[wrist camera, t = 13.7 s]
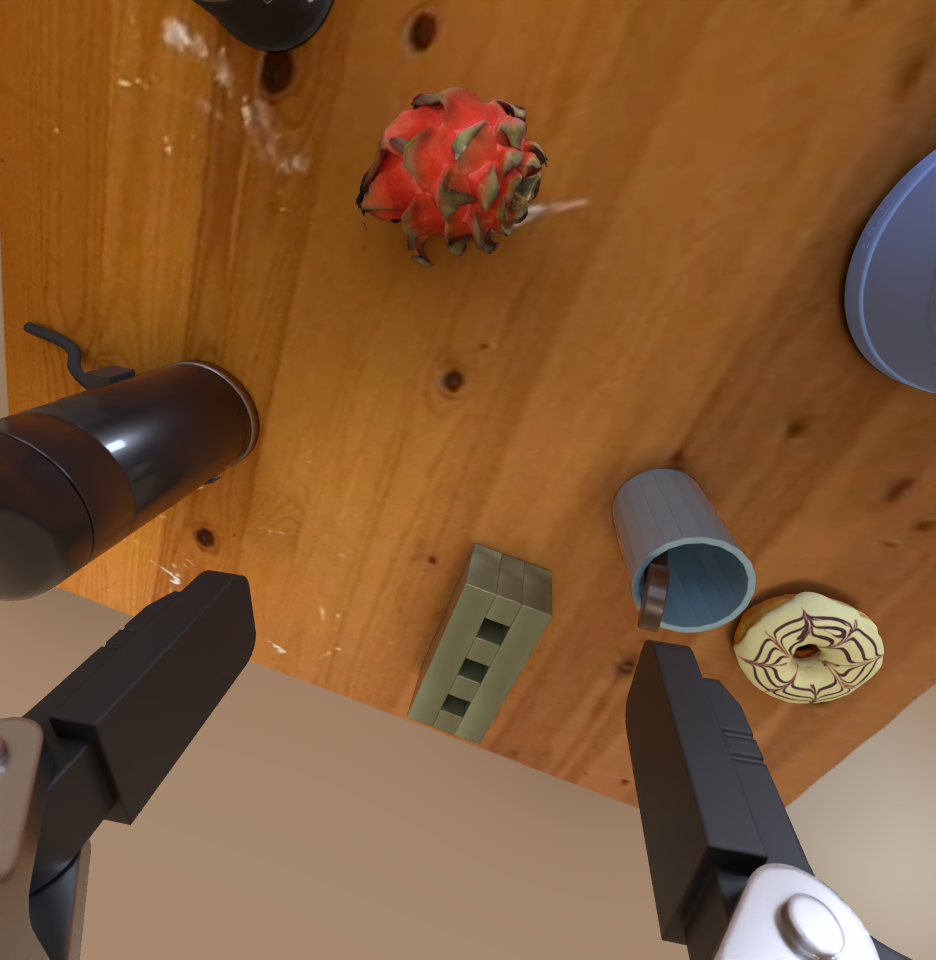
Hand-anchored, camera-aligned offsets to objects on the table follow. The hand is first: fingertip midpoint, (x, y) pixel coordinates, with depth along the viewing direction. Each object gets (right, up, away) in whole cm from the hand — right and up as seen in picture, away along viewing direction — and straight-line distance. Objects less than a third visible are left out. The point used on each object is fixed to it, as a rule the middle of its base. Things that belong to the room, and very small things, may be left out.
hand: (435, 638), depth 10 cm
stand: (+2, -11, +38) cm, 40 cm away
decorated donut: (+30, -10, +34) cm, 46 cm away
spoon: (+16, 0, +30) cm, 34 cm away
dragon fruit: (0, +23, +23) cm, 32 cm away
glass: (+16, +1, +31) cm, 35 cm away
